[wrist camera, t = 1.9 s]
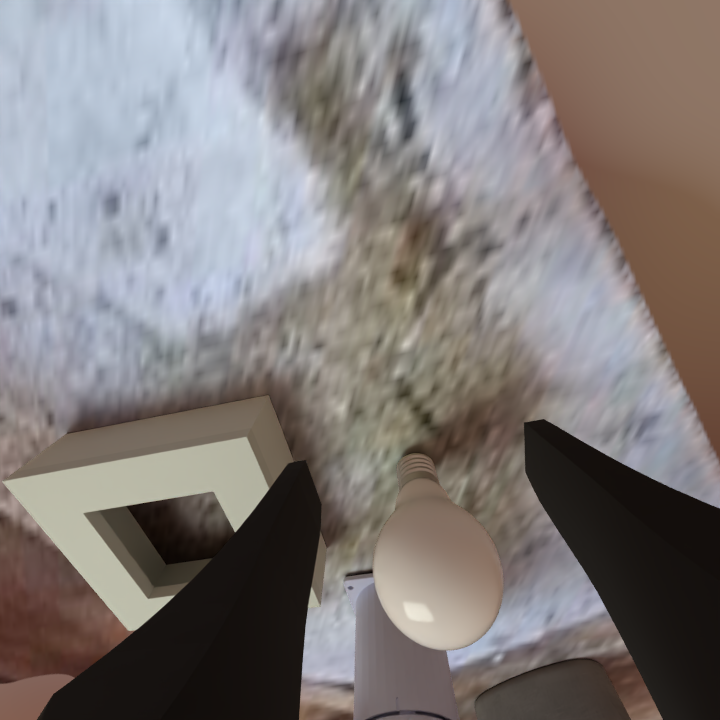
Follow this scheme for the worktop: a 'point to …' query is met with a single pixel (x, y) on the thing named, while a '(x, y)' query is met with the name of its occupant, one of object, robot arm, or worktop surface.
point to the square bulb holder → (151, 494)
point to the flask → (554, 695)
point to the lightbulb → (435, 564)
